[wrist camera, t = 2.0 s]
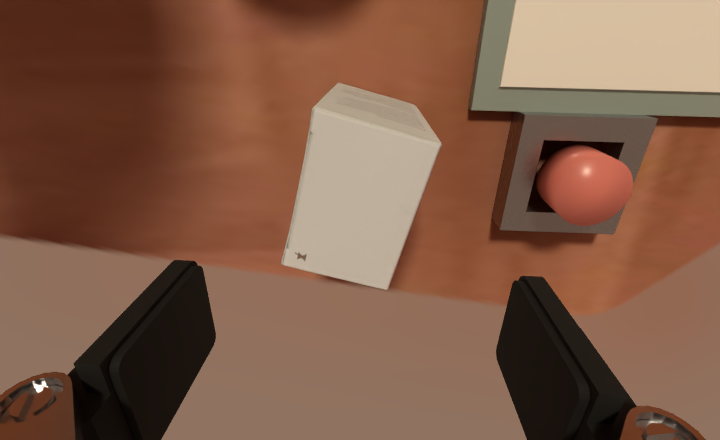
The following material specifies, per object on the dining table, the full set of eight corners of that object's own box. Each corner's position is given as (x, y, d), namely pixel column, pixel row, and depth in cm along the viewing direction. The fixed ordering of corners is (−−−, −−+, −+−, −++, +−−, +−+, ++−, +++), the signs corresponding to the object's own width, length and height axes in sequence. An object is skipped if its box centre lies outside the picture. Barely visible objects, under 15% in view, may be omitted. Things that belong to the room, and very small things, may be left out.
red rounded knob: (545, 143, 23) (566, 156, 21) (615, 145, 23) (644, 158, 20) (529, 206, 25) (547, 224, 23) (593, 208, 25) (618, 227, 22)
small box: (383, 208, 27) (388, 296, 18) (311, 189, 27) (278, 269, 18) (418, 103, 24) (447, 143, 15) (336, 79, 23) (312, 105, 14)
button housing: (514, 109, 24) (525, 114, 22) (636, 112, 24) (658, 118, 22) (491, 217, 27) (499, 230, 26) (598, 221, 27) (613, 234, 25)
